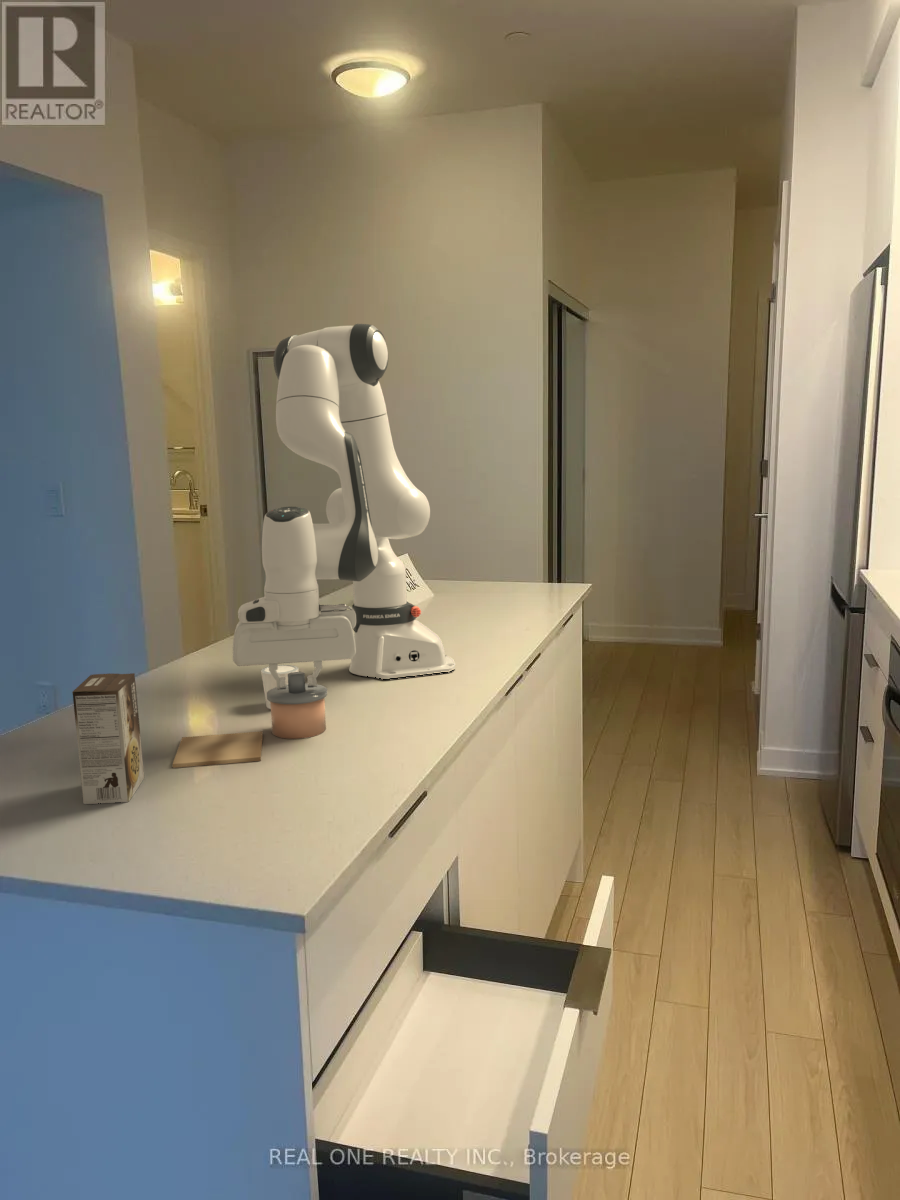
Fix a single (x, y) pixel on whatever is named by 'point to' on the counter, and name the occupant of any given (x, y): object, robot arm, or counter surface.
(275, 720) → the canister
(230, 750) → the mat
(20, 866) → the counter surface
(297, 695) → the lid
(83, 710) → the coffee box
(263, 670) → the white cup
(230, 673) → the counter surface
